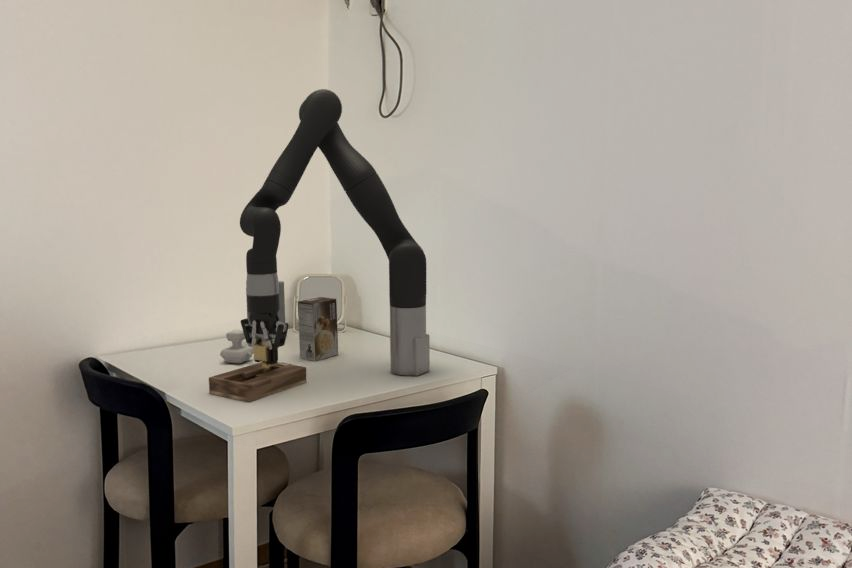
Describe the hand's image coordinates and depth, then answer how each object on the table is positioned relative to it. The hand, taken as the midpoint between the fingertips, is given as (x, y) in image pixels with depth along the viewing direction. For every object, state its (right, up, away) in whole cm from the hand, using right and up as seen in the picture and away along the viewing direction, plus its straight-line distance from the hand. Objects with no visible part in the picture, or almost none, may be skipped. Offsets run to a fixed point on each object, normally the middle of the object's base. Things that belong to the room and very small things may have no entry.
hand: (265, 362), depth 183 cm
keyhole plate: (-1, -6, -1) cm, 6 cm away
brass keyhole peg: (0, -5, +1) cm, 5 cm away
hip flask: (-9, +1, +48) cm, 48 cm away
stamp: (-13, -3, +24) cm, 27 cm away
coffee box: (+9, -2, +29) cm, 31 cm away
